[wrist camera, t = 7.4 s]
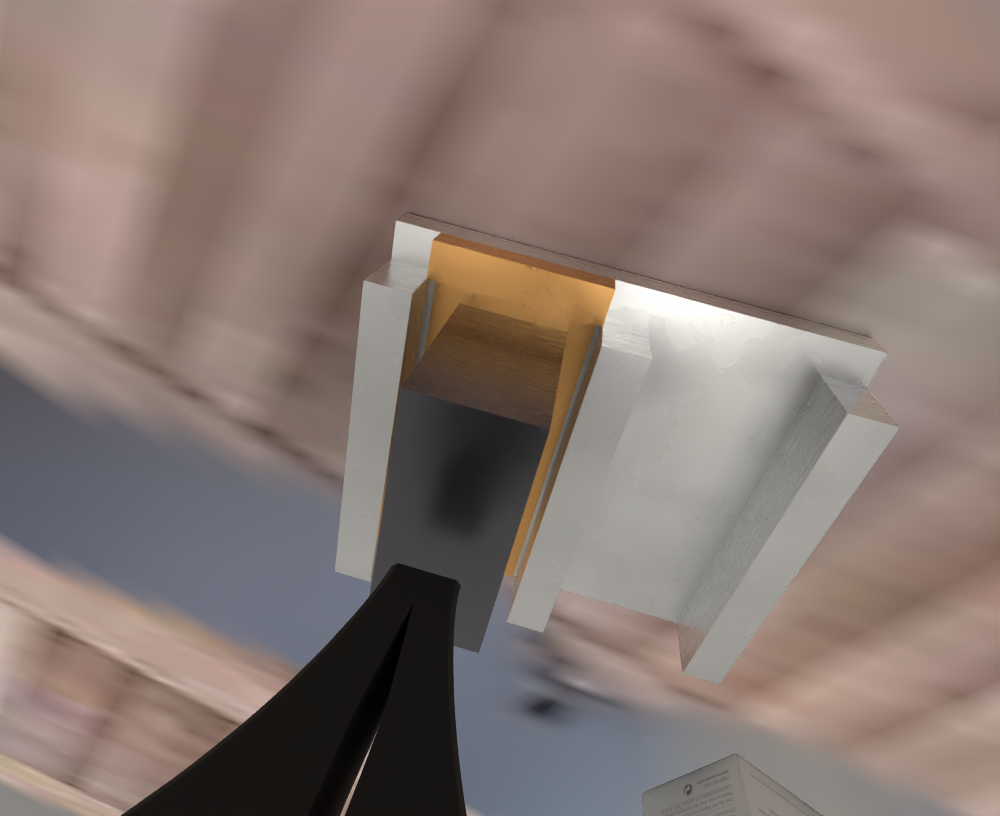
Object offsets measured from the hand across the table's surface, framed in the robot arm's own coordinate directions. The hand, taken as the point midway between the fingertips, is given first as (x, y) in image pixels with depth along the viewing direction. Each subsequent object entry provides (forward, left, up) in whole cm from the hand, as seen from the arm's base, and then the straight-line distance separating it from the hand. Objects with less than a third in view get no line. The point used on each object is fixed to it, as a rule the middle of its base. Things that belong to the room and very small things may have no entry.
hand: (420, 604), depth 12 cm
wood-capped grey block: (0, 0, -7) cm, 7 cm away
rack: (-3, 0, -8) cm, 8 cm away
